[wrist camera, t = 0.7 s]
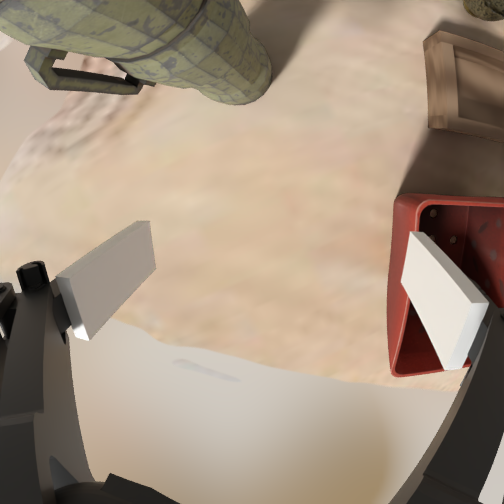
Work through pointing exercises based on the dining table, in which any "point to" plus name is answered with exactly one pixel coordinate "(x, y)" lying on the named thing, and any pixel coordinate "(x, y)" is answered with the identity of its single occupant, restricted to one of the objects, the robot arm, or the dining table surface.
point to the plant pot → (461, 253)
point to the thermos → (143, 45)
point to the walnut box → (464, 86)
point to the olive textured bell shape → (485, 9)
